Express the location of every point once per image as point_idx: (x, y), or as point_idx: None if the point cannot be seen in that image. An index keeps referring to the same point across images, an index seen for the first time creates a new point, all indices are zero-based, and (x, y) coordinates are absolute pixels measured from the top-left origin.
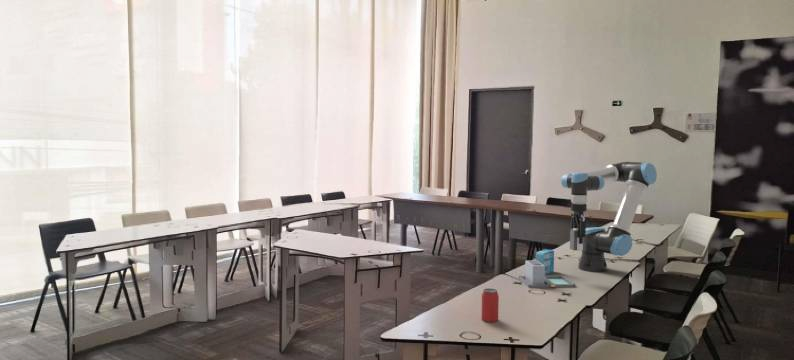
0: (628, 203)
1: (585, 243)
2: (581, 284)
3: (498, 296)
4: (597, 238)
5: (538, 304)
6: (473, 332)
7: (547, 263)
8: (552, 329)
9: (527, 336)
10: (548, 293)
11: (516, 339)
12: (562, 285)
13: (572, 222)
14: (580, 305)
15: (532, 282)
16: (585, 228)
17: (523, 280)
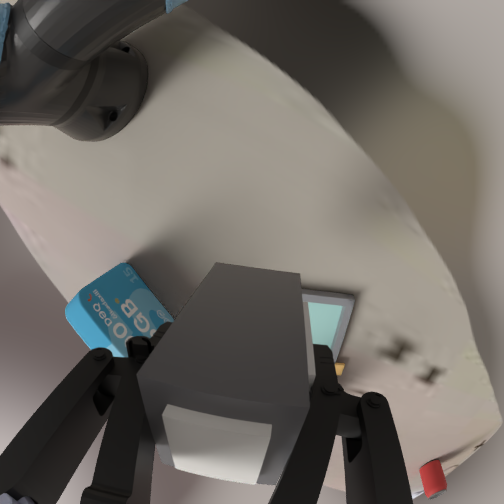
0: None
1: (302, 301)
2: (321, 250)
3: (444, 483)
4: (47, 52)
5: (423, 418)
6: (444, 470)
7: (139, 319)
8: (496, 412)
9: (486, 434)
10: (375, 387)
11: (483, 442)
12: (341, 340)
13: (72, 471)
14: (473, 350)
15: None
16: (405, 475)
17: None
